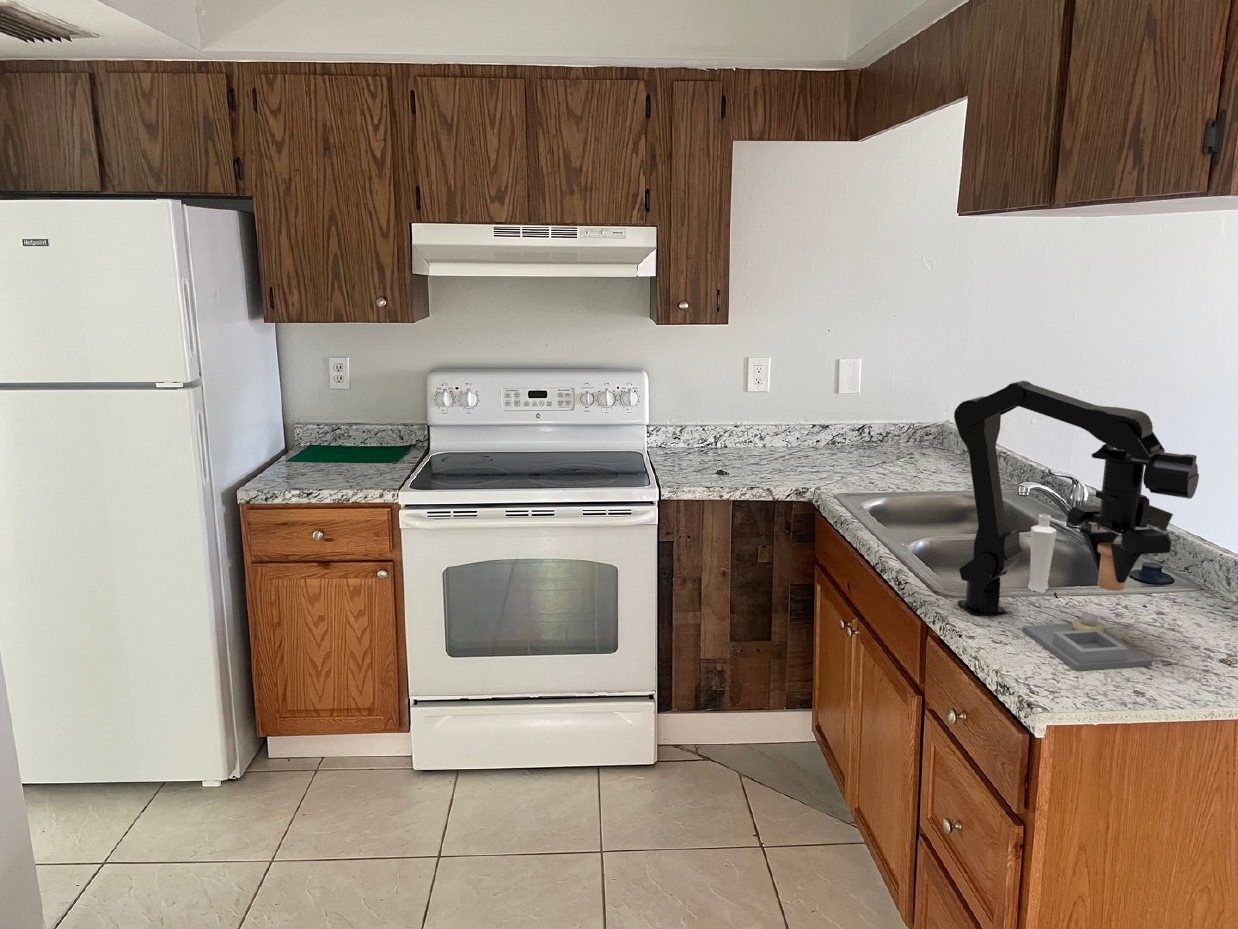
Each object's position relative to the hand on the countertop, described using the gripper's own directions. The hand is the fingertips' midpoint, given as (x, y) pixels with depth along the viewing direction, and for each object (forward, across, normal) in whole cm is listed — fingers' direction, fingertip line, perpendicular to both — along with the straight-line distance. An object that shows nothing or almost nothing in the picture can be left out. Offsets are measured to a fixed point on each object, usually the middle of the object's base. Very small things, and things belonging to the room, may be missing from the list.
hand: (1111, 577), depth 160 cm
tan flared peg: (+2, 0, 0) cm, 2 cm away
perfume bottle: (+12, +25, -4) cm, 28 cm away
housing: (+12, -2, +5) cm, 13 cm away
